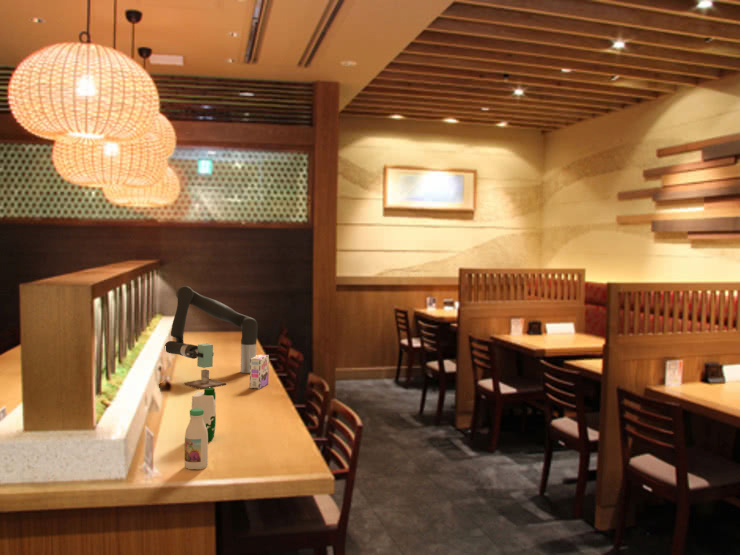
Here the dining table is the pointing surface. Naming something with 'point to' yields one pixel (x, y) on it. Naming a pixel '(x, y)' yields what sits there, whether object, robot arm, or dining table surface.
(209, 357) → the teal cap
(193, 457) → the milk bottle
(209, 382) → the walnut base
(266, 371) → the candy box
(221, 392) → the dining table surface
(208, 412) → the white green-capped container
